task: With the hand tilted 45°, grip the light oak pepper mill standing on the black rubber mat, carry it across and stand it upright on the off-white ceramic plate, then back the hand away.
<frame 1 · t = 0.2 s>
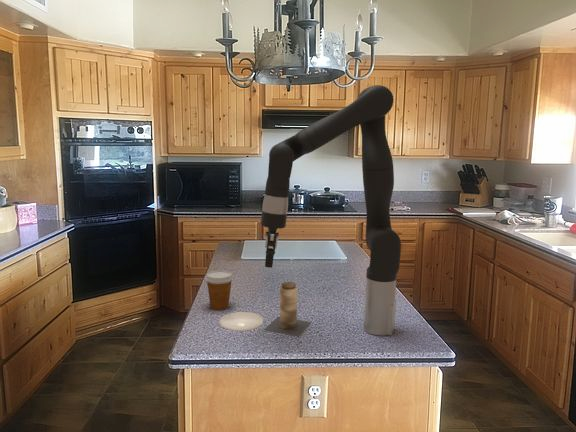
hand: (268, 263, 142), 22 cm above the countertop, tool pointing down, fingers open, 8 cm apart
mat: (288, 327, 150), on the countertop
disposable coffee cup: (219, 307, 167), on the countertop
plate: (241, 323, 152), on the countertop
pepper mill: (288, 326, 149), resting on mat
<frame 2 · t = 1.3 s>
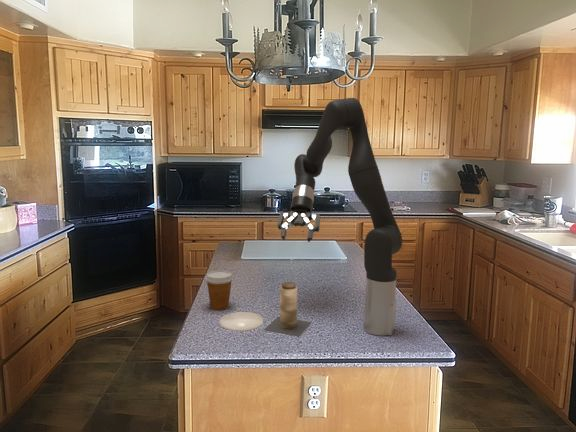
hand: (296, 239, 156), 26 cm above the countertop, tool tilted 45°, fingers open, 8 cm apart
nothing on the countertop moved.
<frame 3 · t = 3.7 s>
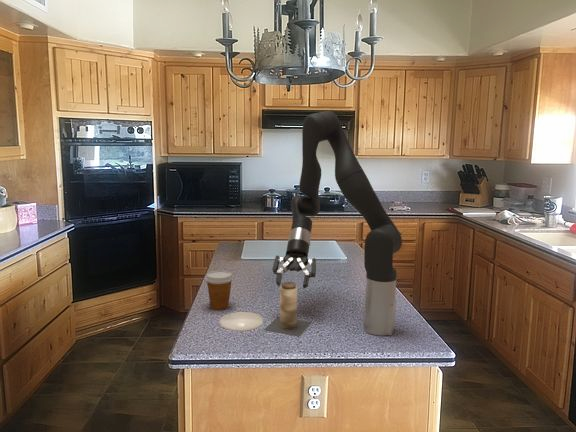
hand: (291, 286, 152), 12 cm above the countertop, tool tilted 45°, fingers open, 8 cm apart
nothing on the countertop moved.
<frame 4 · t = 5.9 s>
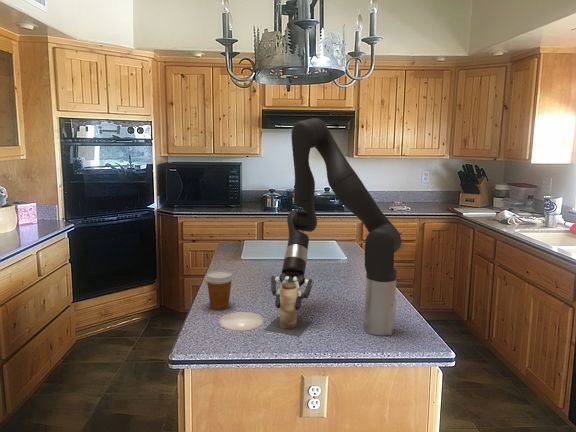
hand: (287, 308, 147), 7 cm above the countertop, tool tilted 45°, fingers closed on pepper mill, 5 cm apart
pepper mill: (288, 326, 149), point 1 cm above the countertop, touching gripper, mat
everything else where it was.
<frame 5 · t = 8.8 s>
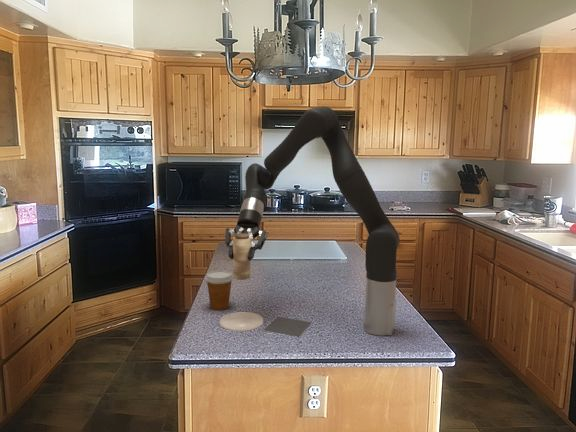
hand: (240, 258, 147), 22 cm above the countertop, tool tilted 45°, fingers closed on pepper mill, 5 cm apart
pepper mill: (241, 277, 150), point 16 cm above the countertop, touching gripper
everything else where it was.
when the fingers open (9 cm above the countertop, at t = 11.7 s): pepper mill drops 1 cm, resting on plate.
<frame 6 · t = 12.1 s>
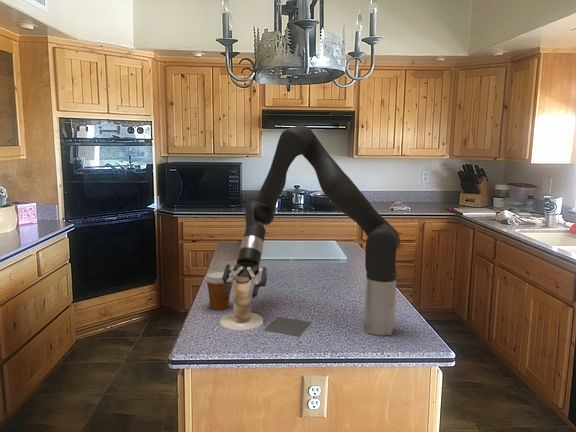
hand: (240, 295, 149), 10 cm above the countertop, tool tilted 45°, fingers open, 8 cm apart
pepper mill: (242, 319, 152), point 1 cm above the countertop, touching plate
everything else where it was.
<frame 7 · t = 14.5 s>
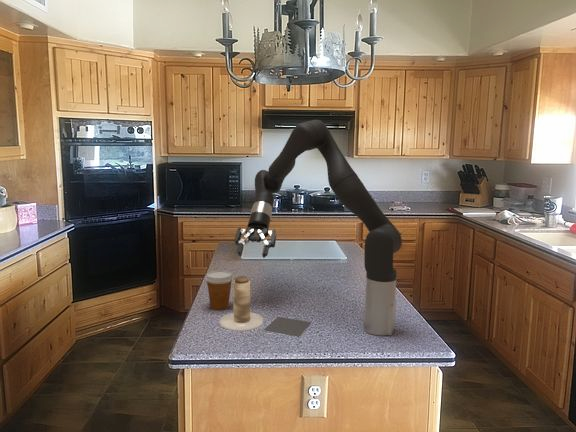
hand: (251, 255, 160), 20 cm above the countertop, tool tilted 45°, fingers open, 8 cm apart
nothing on the countertop moved.
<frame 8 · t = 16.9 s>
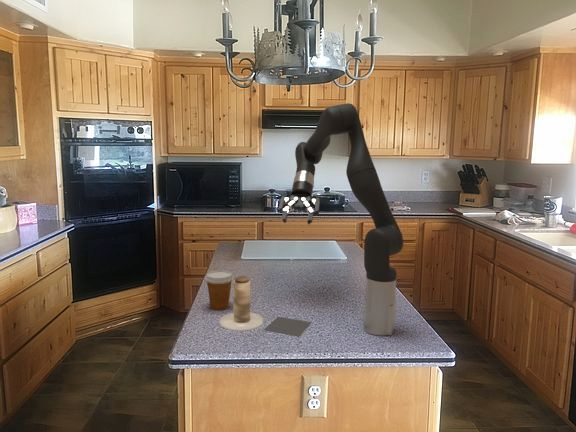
hand: (296, 222, 163), 31 cm above the countertop, tool tilted 45°, fingers open, 8 cm apart
nothing on the countertop moved.
at the end: pepper mill 0.2 cm off-centre on the plate, point 1.2 cm above the plate's base; pepper mill tilted 0°; the gripper is holding nothing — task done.
